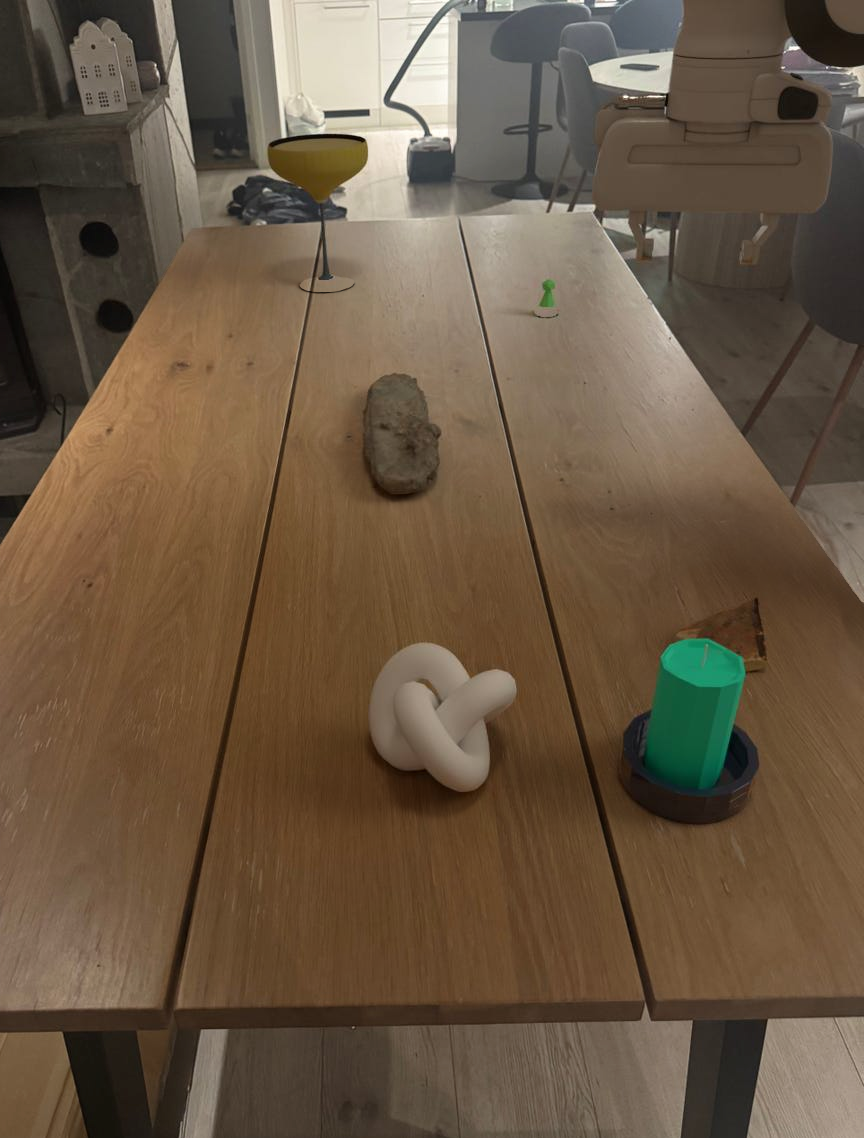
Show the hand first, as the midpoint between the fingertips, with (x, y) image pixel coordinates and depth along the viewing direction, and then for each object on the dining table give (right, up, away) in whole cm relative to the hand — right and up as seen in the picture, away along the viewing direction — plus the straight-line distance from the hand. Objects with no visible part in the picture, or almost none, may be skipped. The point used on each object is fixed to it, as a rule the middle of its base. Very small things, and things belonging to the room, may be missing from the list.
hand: (695, 261), depth 90 cm
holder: (-5, -46, -13) cm, 49 cm away
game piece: (-1, +22, +78) cm, 81 cm away
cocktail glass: (-40, +34, +97) cm, 110 cm away
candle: (-6, -46, -14) cm, 48 cm away
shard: (+2, -36, +1) cm, 36 cm away
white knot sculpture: (-24, -45, -10) cm, 52 cm away
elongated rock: (-27, -9, +39) cm, 48 cm away
